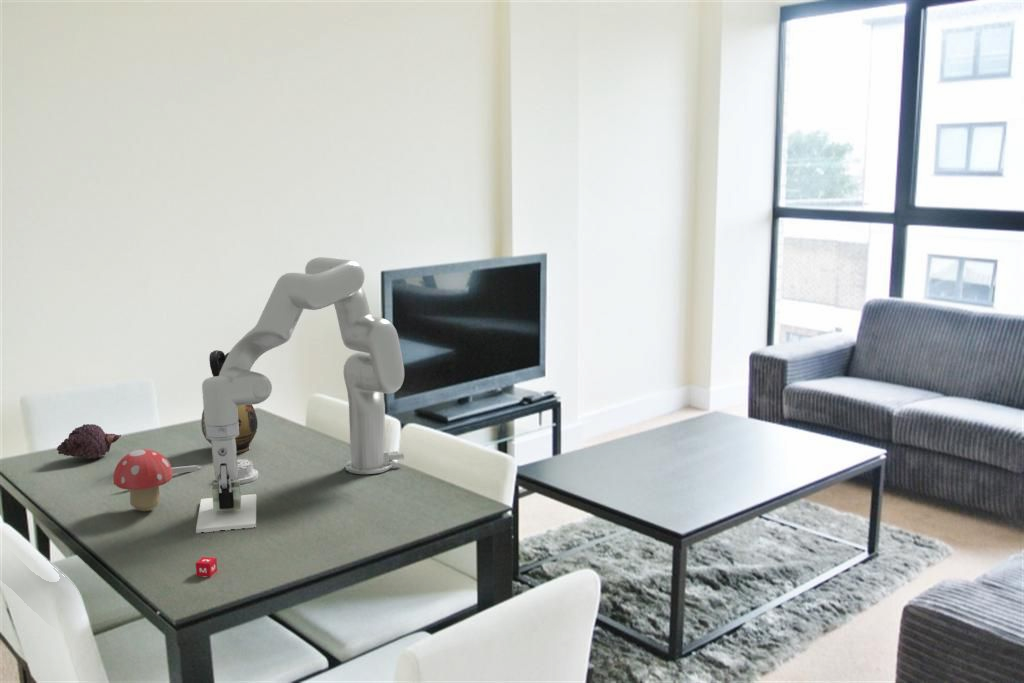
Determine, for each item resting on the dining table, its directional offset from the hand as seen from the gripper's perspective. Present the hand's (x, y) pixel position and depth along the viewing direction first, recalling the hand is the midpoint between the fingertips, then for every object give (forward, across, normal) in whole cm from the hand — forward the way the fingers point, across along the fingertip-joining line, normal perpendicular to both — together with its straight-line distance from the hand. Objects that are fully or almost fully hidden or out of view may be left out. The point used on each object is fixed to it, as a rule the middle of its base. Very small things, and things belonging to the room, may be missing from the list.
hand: (227, 502), depth 226 cm
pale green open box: (+1, 0, 0) cm, 1 cm away
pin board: (+3, 0, 0) cm, 3 cm away
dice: (+3, -33, +3) cm, 33 cm away
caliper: (+3, +31, +16) cm, 35 cm away
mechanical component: (+3, +26, -2) cm, 27 cm away
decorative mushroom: (+3, +8, +19) cm, 21 cm away
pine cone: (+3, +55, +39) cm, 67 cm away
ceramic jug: (+3, +52, +1) cm, 52 cm away
